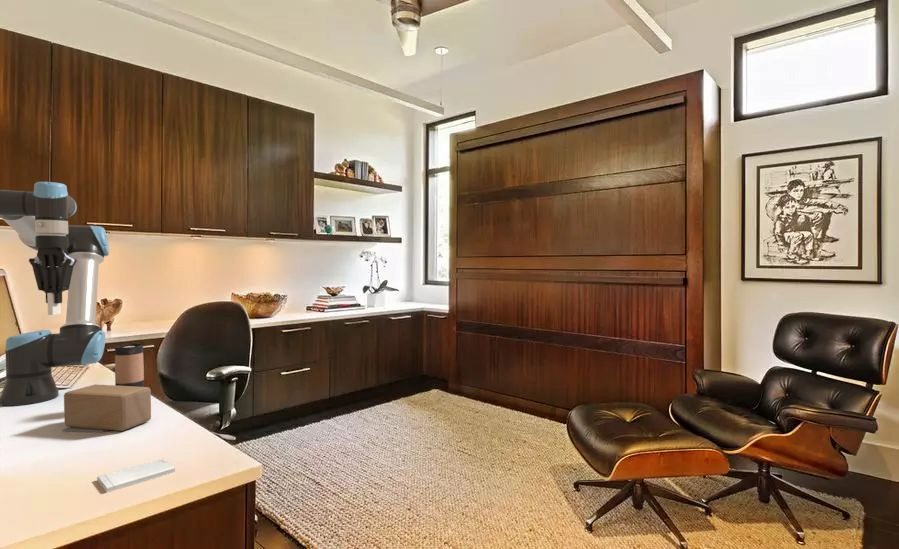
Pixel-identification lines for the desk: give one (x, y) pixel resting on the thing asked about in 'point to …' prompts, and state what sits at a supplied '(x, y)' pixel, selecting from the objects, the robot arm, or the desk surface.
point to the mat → (83, 429)
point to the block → (107, 407)
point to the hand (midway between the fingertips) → (54, 314)
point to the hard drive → (135, 475)
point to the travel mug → (129, 365)
